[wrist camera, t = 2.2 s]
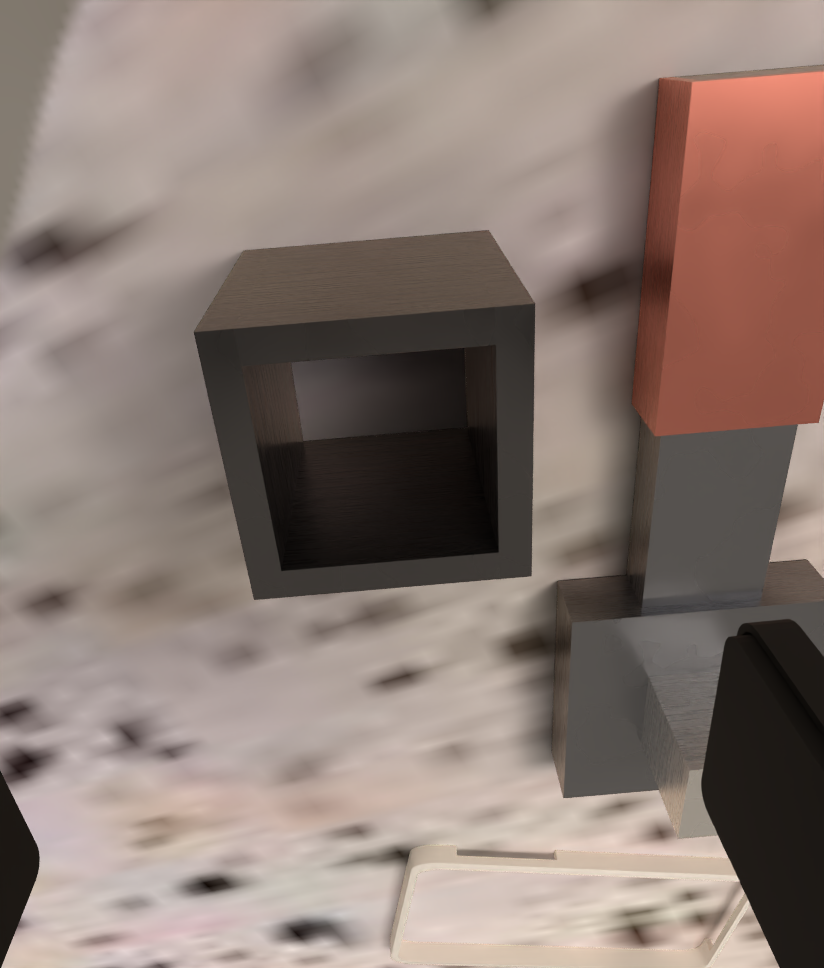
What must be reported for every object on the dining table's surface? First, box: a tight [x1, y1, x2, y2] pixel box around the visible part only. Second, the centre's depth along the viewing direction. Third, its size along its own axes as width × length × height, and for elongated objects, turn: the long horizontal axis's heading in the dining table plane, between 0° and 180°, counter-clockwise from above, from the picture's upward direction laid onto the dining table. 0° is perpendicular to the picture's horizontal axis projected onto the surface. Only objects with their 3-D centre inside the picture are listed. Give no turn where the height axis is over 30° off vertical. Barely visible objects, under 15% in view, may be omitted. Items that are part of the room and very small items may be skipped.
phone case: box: [390, 845, 750, 968], centre depth 33 cm, size 7×1×15 cm
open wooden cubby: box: [194, 230, 535, 600], centre depth 17 cm, size 6×6×6 cm
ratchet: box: [552, 65, 824, 839], centre depth 20 cm, size 22×8×6 cm, turn 4°
